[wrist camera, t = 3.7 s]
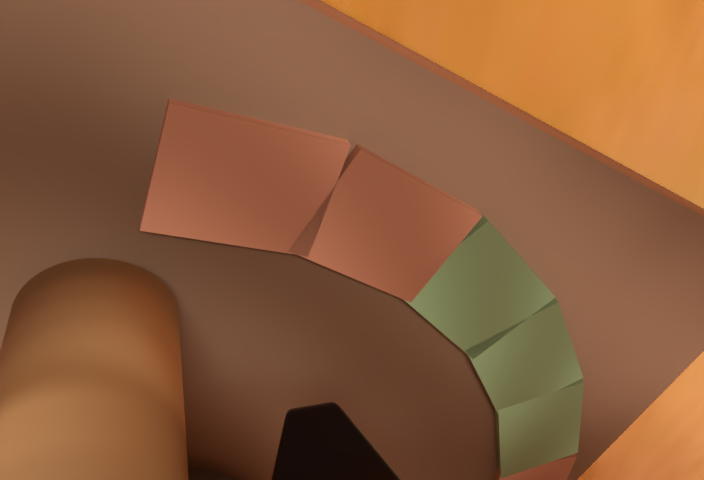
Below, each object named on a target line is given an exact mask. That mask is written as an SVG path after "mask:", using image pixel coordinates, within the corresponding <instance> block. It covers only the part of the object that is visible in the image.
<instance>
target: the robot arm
mask: <svg viewBox="0 0 704 480" xmlns="http://www.w3.org/2000/svg"><path fill="white" fill-rule="evenodd" d="M271 480H400V479H399V477H398V476H397V475H396V474H395V473H394V471H393V470H392V469H391V468H390V467H389V465H388V464H387V463H386V462H385V461H384V459H383V458H382V457H381V456H380V454H379V453H378V452H377V451H376V450H375V448H374V447H373V446H372V445H371V444H370V442H369V441H368V440H367V439H366V437H365V436H364V435H363V434H362V433H361V431H360V430H359V429H358V428H357V427H356V425H355V424H354V423H353V422H352V421H351V419H350V418H349V417H348V416H347V414H346V413H345V412H344V411H343V410H342V408H341V407H340V406H339V405H338V404H336V403H334V402H328V403H322V404H316V405H310V406H304V407H298V408H292V409H289V410H288V411H287V413H286V416H285V420H284V424H283V429H282V434H281V438H280V443H279V447H278V452H277V456H276V461H275V466H274V470H273V475H272V479H271Z"/></svg>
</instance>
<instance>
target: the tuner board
mask: <svg viewBox="0 0 704 480" xmlns="http://www.w3.org/2000/svg"><path fill="white" fill-rule="evenodd" d="M85 258H105V259H114V260H119V261H124V262H127V263H130V264H133V265H136V266H138V267H140V268H143V269H145V270H146V271H148V272H150V273H151V274H153V275H154V276H156V277H157V278H158V279H159V280H161V281H162V282H163V283H164V284H165V286H166V287H167V288H168V289H169V291H170V292H171V293H172V295H173V297H174V299H175V301H176V304H177V308H178V315H179V329H180V346H181V362H182V379H183V395H184V411H185V428H186V444H187V461H188V468H193V469H199V470H205V471H210V472H215V473H218V474H222V475H225V476H229V477H232V478H235V479H237V480H271V479H272V475H273V470H274V466H275V461H276V456H277V452H278V447H279V443H280V438H281V434H282V429H283V424H284V420H285V416H286V413H287V411H288V410H289V409H292V408H298V407H304V406H310V405H316V404H322V403H328V402H334V403H336V404H338V405H339V406H340V407H341V408H342V410H343V411H344V412H345V413H346V414H347V416H348V417H349V418H350V419H351V421H352V422H353V423H354V424H355V425H356V427H357V428H358V429H359V430H360V431H361V433H362V434H363V435H364V436H365V437H366V439H367V440H368V441H369V442H370V444H371V445H372V446H373V447H374V448H375V450H376V451H377V452H378V453H379V454H380V456H381V457H382V458H383V459H384V461H385V462H386V463H387V464H388V465H389V467H390V468H391V469H392V470H393V471H394V473H395V474H396V475H397V476H398V477H399V479H400V480H577V479H578V478H579V477H580V476H581V475H582V474H583V473H584V472H585V471H586V470H587V469H588V468H589V467H590V466H591V465H592V464H593V463H594V462H595V461H596V460H597V459H598V458H599V456H600V455H601V454H602V453H603V452H604V451H605V450H606V449H607V448H608V447H609V446H610V445H611V444H612V443H613V442H614V441H615V440H616V439H617V438H618V437H619V436H620V435H621V434H622V433H623V432H624V431H625V430H626V429H627V428H628V427H629V426H630V425H631V424H632V423H633V422H634V421H635V420H636V419H637V418H638V417H639V416H640V415H641V414H642V413H643V412H644V411H645V410H646V409H647V408H648V407H649V406H650V405H651V404H652V403H653V402H654V401H655V400H656V399H657V398H658V397H659V396H660V395H661V394H662V393H663V392H664V391H665V390H666V389H667V388H668V387H669V386H670V385H671V384H672V383H673V382H674V380H675V379H676V378H677V377H678V376H679V375H680V374H681V373H682V372H683V371H684V370H685V369H686V368H687V367H688V366H689V365H690V364H691V363H692V362H693V361H694V360H695V359H696V358H697V357H698V356H699V355H700V354H701V353H702V352H703V351H704V209H703V208H701V207H699V206H697V205H695V204H693V203H692V202H690V201H688V200H686V199H684V198H682V197H681V196H679V195H677V194H675V193H673V192H671V191H669V190H668V189H666V188H664V187H662V186H660V185H658V184H657V183H655V182H653V181H651V180H649V179H647V178H646V177H644V176H642V175H640V174H638V173H636V172H635V171H633V170H631V169H629V168H627V167H625V166H623V165H622V164H620V163H618V162H616V161H614V160H612V159H611V158H609V157H607V156H605V155H603V154H601V153H600V152H598V151H596V150H594V149H592V148H590V147H589V146H587V145H585V144H583V143H581V142H579V141H577V140H576V139H574V138H572V137H570V136H568V135H566V134H565V133H563V132H561V131H559V130H557V129H555V128H554V127H552V126H550V125H548V124H546V123H544V122H543V121H541V120H539V119H537V118H535V117H533V116H532V115H530V114H528V113H526V112H524V111H522V110H520V109H519V108H517V107H515V106H513V105H511V104H509V103H508V102H506V101H504V100H502V99H500V98H498V97H497V96H495V95H493V94H491V93H489V92H487V91H486V90H484V89H482V88H480V87H478V86H476V85H474V84H473V83H471V82H469V81H467V80H465V79H463V78H462V77H460V76H458V75H456V74H454V73H452V72H451V71H449V70H447V69H445V68H443V67H441V66H440V65H438V64H436V63H434V62H432V61H430V60H428V59H427V58H425V57H423V56H421V55H419V54H417V53H416V52H414V51H412V50H410V49H408V48H406V47H405V46H403V45H401V44H399V43H397V42H395V41H394V40H392V39H390V38H388V37H386V36H384V35H382V34H381V33H379V32H377V31H375V30H373V29H371V28H370V27H368V26H366V25H364V24H362V23H360V22H359V21H357V20H355V19H353V18H351V17H349V16H348V15H346V14H344V13H342V12H340V11H338V10H337V9H335V8H333V7H331V6H329V5H327V4H325V3H324V2H322V1H320V0H0V350H1V346H2V343H3V339H4V335H5V331H6V327H7V323H8V319H9V315H10V311H11V308H12V304H13V302H14V300H15V297H16V295H17V294H18V293H19V291H20V290H21V288H22V287H23V286H24V285H25V284H26V283H27V282H28V281H29V280H30V279H32V278H33V277H34V276H35V275H37V274H39V273H40V272H42V271H44V270H45V269H47V268H50V267H52V266H54V265H57V264H60V263H63V262H67V261H71V260H76V259H85Z"/></svg>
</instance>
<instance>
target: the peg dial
mask: <svg viewBox="0 0 704 480" xmlns="http://www.w3.org/2000/svg"><path fill="white" fill-rule="evenodd" d="M0 480H237V479H235V478H232V477H229V476H225V475H222V474H218V473H215V472H210V471H205V470H199V469H193V468H188V461H187V444H186V428H185V411H184V395H183V379H182V362H181V346H180V329H179V315H178V308H177V304H176V301H175V299H174V297H173V295H172V293H171V292H170V291H169V289H168V288H167V287H166V286H165V284H164V283H163V282H162V281H161V280H159V279H158V278H157V277H156V276H154V275H153V274H151V273H150V272H148V271H146V270H145V269H143V268H140V267H138V266H136V265H133V264H130V263H127V262H124V261H119V260H114V259H105V258H85V259H76V260H71V261H67V262H63V263H60V264H57V265H54V266H52V267H50V268H47V269H45V270H44V271H42V272H40V273H39V274H37V275H35V276H34V277H33V278H32V279H30V280H29V281H28V282H27V283H26V284H25V285H24V286H23V287H22V288H21V290H20V291H19V293H18V294H17V295H16V297H15V300H14V302H13V304H12V308H11V311H10V315H9V319H8V323H7V327H6V331H5V335H4V339H3V343H2V346H1V350H0Z"/></svg>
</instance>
